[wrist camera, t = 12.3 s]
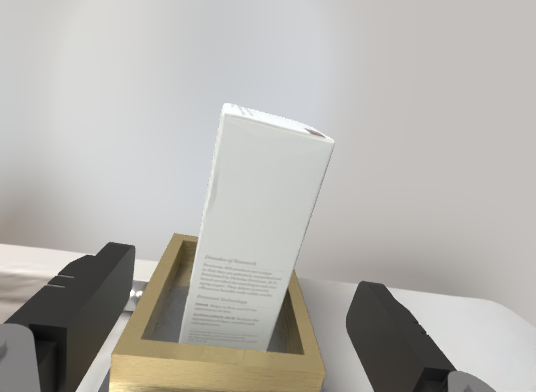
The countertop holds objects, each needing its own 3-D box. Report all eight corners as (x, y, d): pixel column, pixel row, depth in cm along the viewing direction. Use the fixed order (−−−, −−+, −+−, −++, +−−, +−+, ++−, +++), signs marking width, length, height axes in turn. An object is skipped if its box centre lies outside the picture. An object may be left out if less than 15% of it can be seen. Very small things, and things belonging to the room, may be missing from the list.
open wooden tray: (277, 302, 30) (292, 249, 28) (306, 462, 16) (338, 382, 15) (131, 283, 27) (136, 224, 26) (28, 452, 14) (23, 356, 12)
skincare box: (191, 276, 24) (218, 100, 20) (258, 282, 25) (298, 119, 21) (175, 361, 16) (215, 102, 12) (273, 364, 18) (341, 131, 13)
